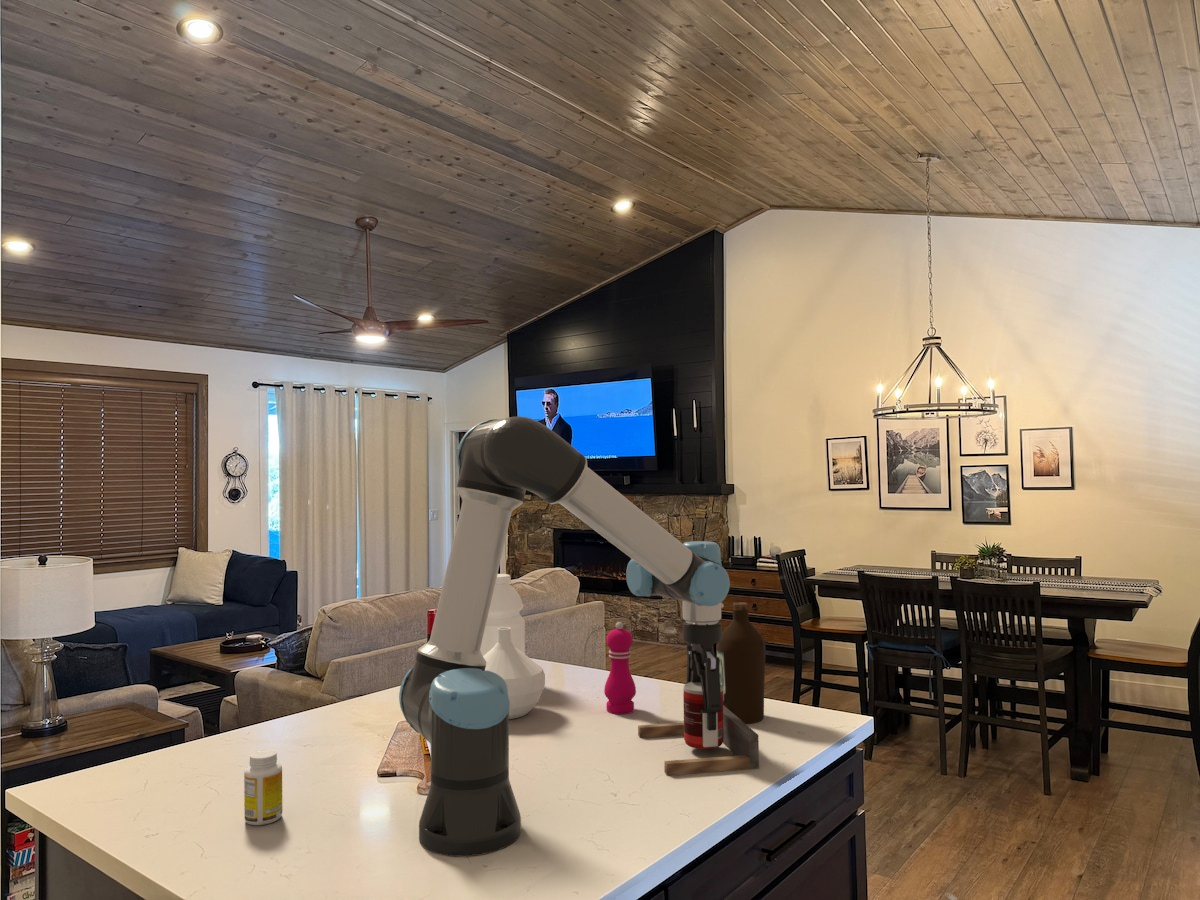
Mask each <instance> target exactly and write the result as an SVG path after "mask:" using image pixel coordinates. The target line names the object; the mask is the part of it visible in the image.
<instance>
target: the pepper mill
mask: <svg viewBox="0 0 1200 900" xmlns="http://www.w3.org/2000/svg"><path fill="white" fill-rule="evenodd" d="M633 641H634V640H633V635H632V633H631V632H630V631H629V630H627V629H625V628H624V624H623V622H621V621H617V622H616V623H615V628H613V629H612V630H610V631H609V632H608V634H607V635H606V645H607V647H608V648H609V650H608V657H609V658H610V670H609V674H608V676H607V679H606V682H605V684H604V688H603V689H604V690H603V691H604V692H603V694H604V696H605V697H606V698H607V700H608V701H606V712H608V713H610V714H615V715H616V714H617V715H625V714H630V713H633V712H634V711H635V702H634V701H633V699H634V697H635V696H636V693H637V689H636V683H635V681H634V678H633V676H632V674H631V671H630V666H629V665H630V664H629V660H630V658H631V656H632V655H631V650H630V649H631V647H632V646H633V643H634V642H633Z"/></svg>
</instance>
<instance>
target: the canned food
mask: <svg viewBox="0 0 1200 900" xmlns="http://www.w3.org/2000/svg"><path fill="white" fill-rule="evenodd" d="M720 690H721V706H722V711H720V712H717V718H718V746H716V747H703V713H701V710H702V709H704V702H703V691H702V686H701V682H699V683H693V682H690V683H687V684H686V683H685V684H684V685H683V692H682V693H683V694H682V695H683V723H684V735H683V739H684V743H685V744H686V745H687V746H688V747H691V748H693V749H700V750H713V749H716V748H720V747H721V746H722V745H723V744H724V743H723V739H724V737H723V686H722V685H720Z"/></svg>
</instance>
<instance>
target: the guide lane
mask: <svg viewBox="0 0 1200 900" xmlns="http://www.w3.org/2000/svg"><path fill="white" fill-rule="evenodd" d="M681 735H683V736H684V722H673V723H671V722H670V723H659V724H658V723H657V724H656V723H655V724H645V725H644V724H642V725H641V724H640V725H637V736H638V737H639V738H653V737H671V736H681ZM723 737H724V739H723V743H722V744H724V746H726V747H727V748H728V749H729V750H730V751H731V752H732V753H733V754H734V755H731V756H730V755H729V756H727V755H726V756H715V757H705V758H704V757H703V758H689V759H686V758H685V759H678V760H677V759H673V760H664V774H665V775H666V776H673V775H674V776H675V775H687V774H702V773H703V774H704V773H711V772H715V773H716V772H726V771H727V772H729V771H738V770H739V771H740V770H753V769H759V768H760V762H759V761H760V754H759V753H760V751H759V747H760V746H759V742H760V741H759V734H758V733H757V732H755V730H753V729H752V728H751V727H750V726H749V725H748V724H747V723H744V722H743V721H741V720H740V719H739V718H738V717H737V716H736V715H734V714H733V713H732V712H731V711H730V710H728V709H727V708H726V707H725V706H724V705H723Z"/></svg>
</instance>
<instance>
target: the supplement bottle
mask: <svg viewBox="0 0 1200 900" xmlns="http://www.w3.org/2000/svg"><path fill="white" fill-rule="evenodd" d="M277 757H278V753H277V751H276V750H272V749H266V750H265V749H263V750H258V751H255V752H253V753H251V754H250V755H249V766H248V767H246V768H245V770H244V772H243V773H244V775H243V777H244V779H243V781H244V782H243V783H244V786H243V787H244V788H243V789H244V791H243V794H244V797H243V798H244V821H245V822H246V823H247V824H248V825H250V826H265V825H269V824H272V823H274V822H276V821H278V820H279V819H280V818H281V817H282V815H283V766H282V764H281V763H280V762H278V758H277Z"/></svg>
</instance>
